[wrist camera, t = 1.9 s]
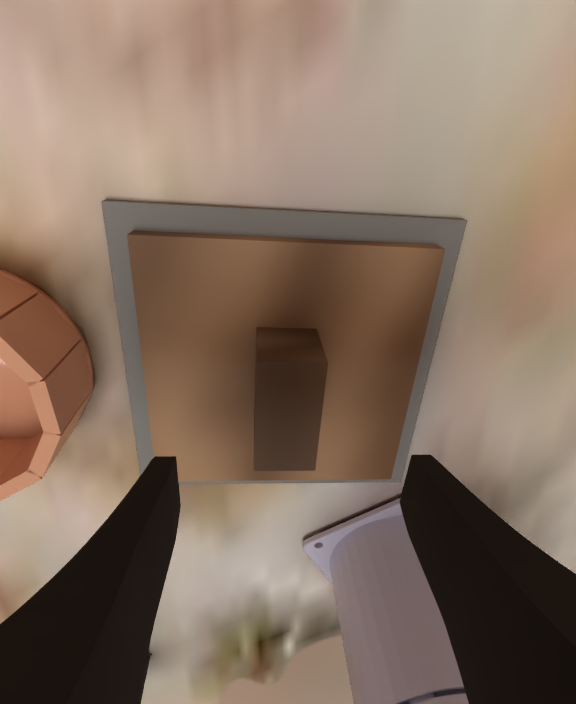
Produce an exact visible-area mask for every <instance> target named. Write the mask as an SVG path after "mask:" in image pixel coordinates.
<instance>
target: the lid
mask: <svg viewBox="0 0 576 704" xmlns="http://www.w3.org/2000/svg"><path fill="white" fill-rule="evenodd" d="M127 240H128V248H129V257H130V265H131V273H132V282H133V290H134V298H135V307H136V315H137V324H138V332H139V340H140V349H141V357H142V365H143V374H144V382H145V390H146V399H147V407H148V415H149V424H150V432H151V440H152V449H153V457H155V456H176V460H177V472H178V481H267V480H367V479H391V477H392V473H393V469H394V464H395V460H396V456H397V452H398V448H399V443H400V439H401V435H402V431H403V426H404V422H405V418H406V414H407V410H408V405H409V401H410V397H411V393H412V388H413V384H414V380H415V376H416V372H417V367H418V363H419V359H420V355H421V350H422V346H423V342H424V338H425V334H426V329H427V325H428V321H429V317H430V313H431V308H432V304H433V300H434V296H435V291H436V287H437V283H438V279H439V275H440V270H441V266H442V262H443V258H444V253H445V249H444V248H442V247H440V246H439V245H431V244H410V243H388V242H367V241H346V240H324V239H303V238H282V237H260V236H239V235H217V234H196V233H175V232H153V231H131V232H130V233H129V234H127Z"/></svg>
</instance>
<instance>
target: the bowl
mask: <svg viewBox="0 0 576 704" xmlns="http://www.w3.org/2000/svg"><path fill="white" fill-rule="evenodd" d="M93 384H94V368H93V361H92V357H91V354H90V351H89V347H88V345H87V343H86V341H85V339H84V337H83V335H82V333H81V332H80V330H79V328H78V327H77V325H76V324H75V322H74V321H73V320H72V319H71V317H70V316H69V315H68V314H67V313H66V311H65V310H64V309H63V308H62V307H61V306H60V305H59V304H58V303H57V302H56V301H54V300H53V299H52V298H51V297H49V296H48V295H47V294H46V293H44V292H43V291H42V290H40V289H39V288H37V287H36V286H34V285H33V284H31V283H30V282H28V281H26V280H24V279H22V278H20V277H18V276H16V275H14V274H12V273H10V272H7V271H5V270H2V269H0V501H1V500H3V499H5V498H7V497H9V496H10V495H12V494H14V493H16V492H18V491H20V490H22V489H24V488H25V487H27V486H29V485H31V484H33V483H35V482H37V481H38V480H40V479H42V477H43V476H44V475H45V473H46V472H47V470H48V469H49V467H50V466H51V464H52V462H53V461H54V459H55V458H56V456H57V455H58V453H59V452H60V450H61V449H62V447H63V446H64V444H65V442H66V441H67V439H68V438H69V436H70V435H71V433H72V432H73V430H74V429H75V427H76V425H77V423H78V421H79V419H80V417H81V415H82V412H83V410H84V409H85V407H86V405H87V403H88V402H89V399H90V396H91V393H92V390H93Z"/></svg>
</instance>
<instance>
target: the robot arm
mask: <svg viewBox="0 0 576 704" xmlns="http://www.w3.org/2000/svg"><path fill="white" fill-rule="evenodd" d="M179 513H180V495H179V483H178V472H177V460H176V456H155V457H154V458H153V459H151V461H150V462H149V464H148V465H147V467H146V468H145V470H144V471H143V473H142V474H141V476H140V477H139V479H138V480H137V481H136V483H135V484H134V485H133V487H132V488H131V489H130V491H129V492H128V494H127V495H126V496H125V497H124V499H123V500H122V501H121V502H120V504H119V505H118V506H117V508H116V509H115V510H114V511H113V513H112V514H111V515H110V516H109V518H108V519H107V520H106V521H105V522H104V523H103V525H102V526H101V527H100V528H99V529H98V530H97V531H96V533H95V534H94V535H93V536H92V537H91V538H90V539H89V541H88V542H87V543H86V544H85V545H84V546H83V547H82V548H81V549H80V550H79V552H78V553H77V554H76V555H75V556H74V557H73V558H72V559H71V560H70V561H69V562H68V563H67V564H66V565H65V566H64V567H63V568H62V569H61V570H60V571H59V572H58V573H57V574H56V575H55V576H54V577H53V578H52V579H51V580H50V581H49V582H47V583H46V584H45V585H44V586H43V587H42V588H41V589H40V590H39V591H38V592H37V593H36V594H35V595H33V596H32V597H31V598H30V599H29V600H28V601H27V602H26V603H25V604H24V605H22V606H21V607H20V608H19V609H18V610H17V611H16V612H14V613H13V614H12V615H11V616H10V617H8V618H7V619H6V620H5V621H4V622H2V623H1V624H0V704H140V699H141V692H142V686H143V680H144V674H145V668H146V663H147V657H148V651H149V645H150V639H151V635H152V630H153V626H154V621H155V617H156V614H157V610H158V606H159V602H160V598H161V594H162V591H163V587H164V583H165V579H166V575H167V571H168V568H169V564H170V560H171V556H172V552H173V548H174V544H175V540H176V534H177V527H178V520H179ZM302 545H303V550H304V552H305V553H306V554H307V555H308V556H309V558H310V559H311V560H312V561H313V562H314V563H315V565H316V566H317V567H318V568H319V569H320V570H321V572H322V573H323V574H324V575H325V576H326V577H327V579H328V580H329V581H330V582H331V583H332V584H333V589H334V595H335V601H336V606H337V612H338V617H339V623H340V629H341V634H342V640H343V646H344V651H345V657H346V662H347V668H348V674H349V679H350V685H351V690H352V696H353V702H354V704H576V574H575V573H573V572H572V571H570V570H569V569H567V568H566V567H565V566H563V565H562V564H560V563H559V562H557V561H556V560H554V559H553V558H552V557H550V556H549V555H548V554H546V553H545V552H543V551H542V550H541V549H539V548H538V547H537V546H535V545H534V544H532V543H531V542H530V541H529V540H527V539H526V538H525V537H523V536H522V535H521V534H520V533H518V532H517V531H516V530H515V529H513V528H512V527H511V526H510V525H508V524H507V523H506V522H505V521H504V520H502V519H501V518H500V517H499V516H498V515H496V514H495V513H494V512H493V511H492V510H491V509H489V508H488V507H487V506H486V505H485V504H484V503H483V502H482V501H480V500H479V499H478V498H477V497H476V496H475V495H474V494H473V493H472V492H470V491H469V490H468V489H467V488H466V487H465V486H464V485H463V484H462V483H461V482H460V481H459V480H457V479H456V478H455V477H454V476H453V475H452V474H451V473H450V472H449V471H448V470H447V469H446V468H445V467H444V466H442V465H441V464H440V463H439V462H438V461H437V460H436V459H435V458H434V457H433V456H431V455H412V456H411V460H410V464H409V468H408V471H407V475H406V479H405V483H404V487H403V490H402V494H401V498H399V499H396V500H394V501H392V502H390V503H387V504H385V505H383V506H380V507H378V508H376V509H374V510H371V511H369V512H367V513H364V514H362V515H360V516H358V517H355V518H353V519H351V520H348V521H346V522H344V523H341V524H339V525H337V526H335V527H332V528H330V529H328V530H325V531H323V532H321V533H319V534H316V535H314V536H312V537H309V538H307V539H306V540H304V541H303V544H302Z"/></svg>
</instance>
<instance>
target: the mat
mask: <svg viewBox="0 0 576 704" xmlns="http://www.w3.org/2000/svg"><path fill="white" fill-rule="evenodd" d="M102 209H103V216H104V223H105V230H106V237H107V244H108V251H109V258H110V265H111V272H112V279H113V286H114V293H115V300H116V307H117V314H118V321H119V328H120V335H121V342H122V349H123V356H124V363H125V370H126V377H127V384H128V391H129V398H130V405H131V412H132V419H133V426H134V433H135V440H136V447H137V454H138V461H139V468H140V475H141V474H142V473H143V471H144V470H145V468H146V467H147V465H148V464H149V462H150V461H151V459H153V458H154V457H153V449H152V440H151V432H150V424H149V415H148V407H147V399H146V390H145V382H144V374H143V365H142V357H141V349H140V340H139V332H138V324H137V315H136V307H135V298H134V290H133V282H132V273H131V265H130V257H129V248H128V240H127V234H129V233H130V232H131V231H153V232H175V233H196V234H217V235H239V236H260V237H282V238H303V239H324V240H346V241H367V242H388V243H410V244H431V245H439V246H440V247H442V248H444V249H445V253H444V258H443V262H442V266H441V270H440V275H439V279H438V283H437V287H436V291H435V296H434V300H433V304H432V308H431V313H430V317H429V321H428V325H427V329H426V334H425V338H424V342H423V346H422V350H421V355H420V359H419V363H418V367H417V372H416V376H415V380H414V384H413V388H412V393H411V397H410V401H409V405H408V410H407V414H406V418H405V422H404V426H403V431H402V435H401V439H400V443H399V448H398V452H397V456H396V460H395V464H394V469H393V473H392V477H391V479H367V480H267V481H178V483H179V484H248V483H342V482H401V480H402V476H403V472H404V468H405V464H406V460H407V456H408V452H409V448H410V444H411V440H412V436H413V432H414V428H415V424H416V420H417V416H418V412H419V408H420V404H421V401H422V397H423V393H424V389H425V385H426V381H427V377H428V373H429V369H430V365H431V361H432V357H433V353H434V349H435V345H436V341H437V337H438V333H439V329H440V325H441V322H442V318H443V314H444V310H445V306H446V302H447V298H448V294H449V290H450V286H451V282H452V278H453V274H454V270H455V266H456V262H457V258H458V254H459V250H460V246H461V242H462V239H463V235H464V231H465V227H466V223H467V220H464V219H455V218H437V217H418V216H399V215H380V214H362V213H343V212H324V211H306V210H287V209H268V208H249V207H231V206H212V205H193V204H174V203H156V202H137V201H118V200H103V201H102Z"/></svg>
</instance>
